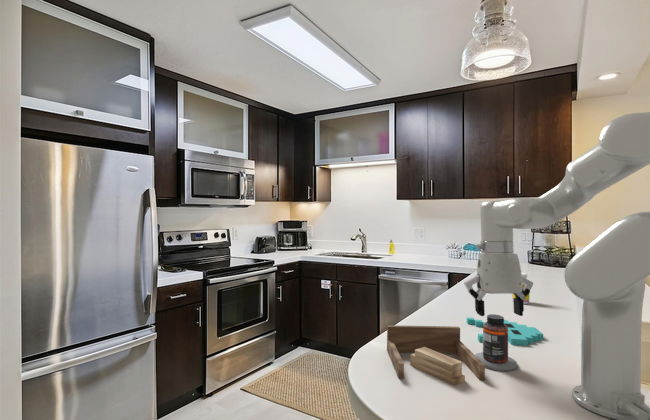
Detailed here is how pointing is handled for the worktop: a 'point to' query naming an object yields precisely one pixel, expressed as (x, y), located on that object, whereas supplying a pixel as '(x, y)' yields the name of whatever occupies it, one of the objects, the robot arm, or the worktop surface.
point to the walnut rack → (429, 345)
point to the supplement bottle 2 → (523, 287)
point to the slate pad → (507, 366)
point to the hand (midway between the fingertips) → (499, 314)
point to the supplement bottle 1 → (495, 339)
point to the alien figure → (513, 332)
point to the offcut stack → (438, 365)
